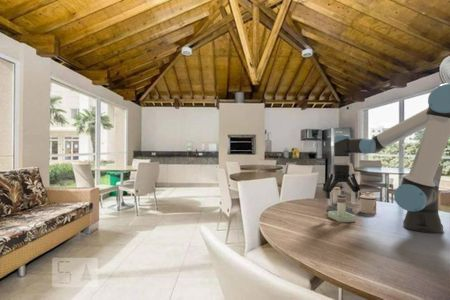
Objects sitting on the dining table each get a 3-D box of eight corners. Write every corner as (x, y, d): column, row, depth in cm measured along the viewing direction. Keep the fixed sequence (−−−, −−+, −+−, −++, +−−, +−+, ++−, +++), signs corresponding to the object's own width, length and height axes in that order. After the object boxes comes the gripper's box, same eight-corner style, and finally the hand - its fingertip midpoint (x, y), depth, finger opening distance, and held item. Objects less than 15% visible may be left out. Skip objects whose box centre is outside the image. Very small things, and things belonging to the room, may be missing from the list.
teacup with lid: (378, 214, 153) (378, 194, 153) (360, 213, 156) (360, 193, 156) (374, 210, 164) (374, 190, 164) (357, 209, 167) (357, 190, 167)
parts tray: (355, 221, 139) (355, 215, 139) (339, 222, 137) (339, 216, 137) (343, 216, 149) (343, 210, 149) (327, 216, 148) (327, 211, 148)
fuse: (341, 208, 160) (341, 188, 160) (335, 208, 159) (335, 188, 159) (337, 206, 164) (337, 187, 164) (331, 207, 163) (331, 187, 163)
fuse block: (353, 215, 152) (353, 207, 152) (340, 215, 151) (340, 208, 151) (339, 209, 166) (339, 202, 166) (327, 209, 165) (327, 203, 165)
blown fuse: (347, 219, 142) (347, 196, 141) (340, 219, 141) (340, 196, 141) (342, 216, 146) (342, 194, 145) (335, 217, 145) (335, 195, 145)
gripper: (358, 163, 149) (358, 202, 149) (316, 164, 145) (315, 203, 145) (367, 164, 141) (367, 205, 141) (323, 165, 137) (323, 206, 137)
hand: (341, 204), depth 143 cm, fingers open, 13 cm apart
